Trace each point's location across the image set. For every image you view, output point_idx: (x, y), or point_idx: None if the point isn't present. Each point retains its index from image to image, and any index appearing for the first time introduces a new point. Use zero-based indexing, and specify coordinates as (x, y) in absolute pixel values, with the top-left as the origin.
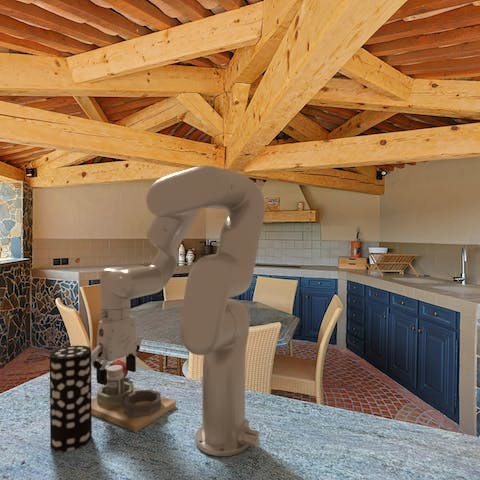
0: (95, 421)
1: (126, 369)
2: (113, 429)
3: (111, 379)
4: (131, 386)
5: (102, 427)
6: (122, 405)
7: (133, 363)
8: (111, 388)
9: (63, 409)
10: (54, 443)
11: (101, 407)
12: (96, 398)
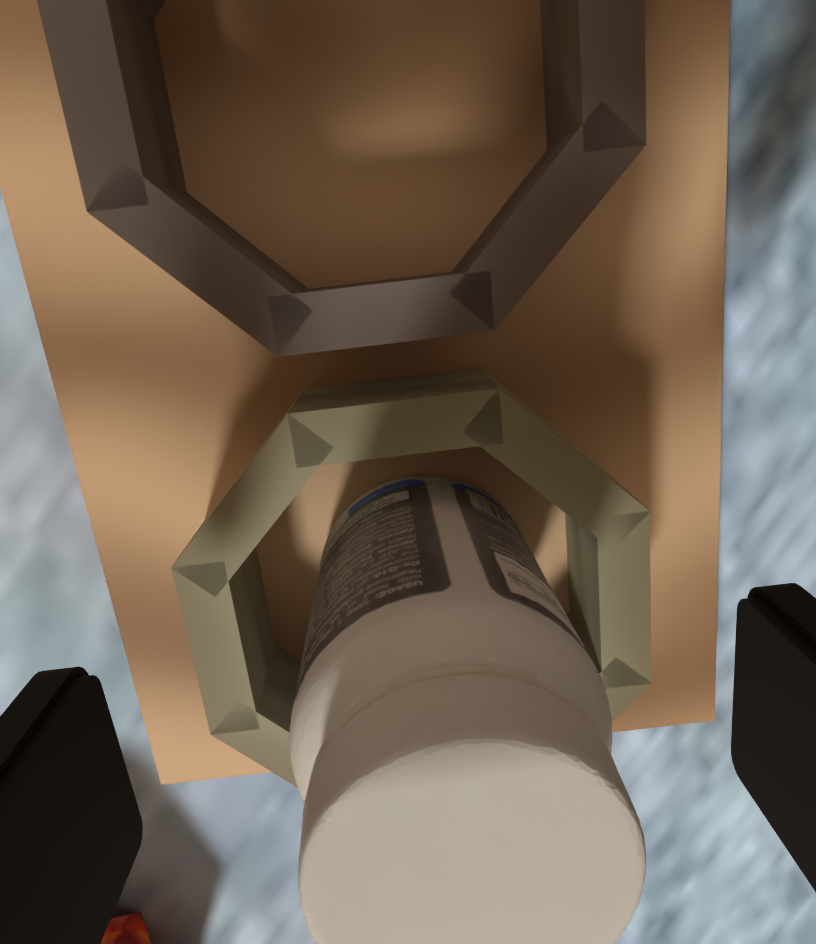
0: (763, 389)
1: (137, 837)
2: (781, 80)
3: (593, 671)
4: (233, 527)
5: (809, 222)
6: (483, 354)
7: (2, 799)
8: (552, 592)
9: None
10: None
11: (650, 503)
12: None
